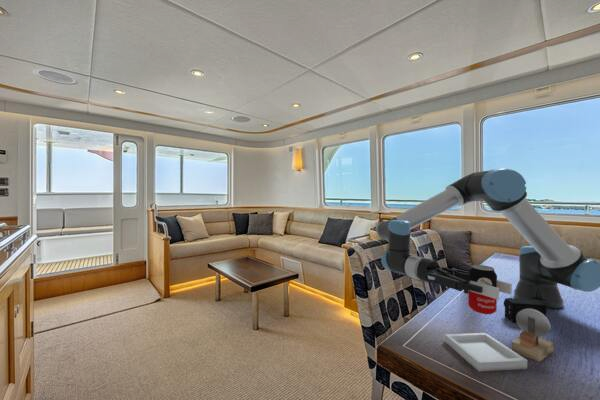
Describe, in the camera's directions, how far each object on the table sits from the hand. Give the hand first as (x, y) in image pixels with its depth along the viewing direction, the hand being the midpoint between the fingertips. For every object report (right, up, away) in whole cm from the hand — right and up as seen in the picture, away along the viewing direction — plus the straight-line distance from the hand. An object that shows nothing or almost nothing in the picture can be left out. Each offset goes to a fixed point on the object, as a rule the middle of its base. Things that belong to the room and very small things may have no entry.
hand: (504, 291), depth 65 cm
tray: (-3, -19, +4) cm, 20 cm away
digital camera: (+26, -19, +24) cm, 41 cm away
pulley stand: (+13, -19, +6) cm, 24 cm away
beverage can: (-3, -7, +5) cm, 9 cm away
